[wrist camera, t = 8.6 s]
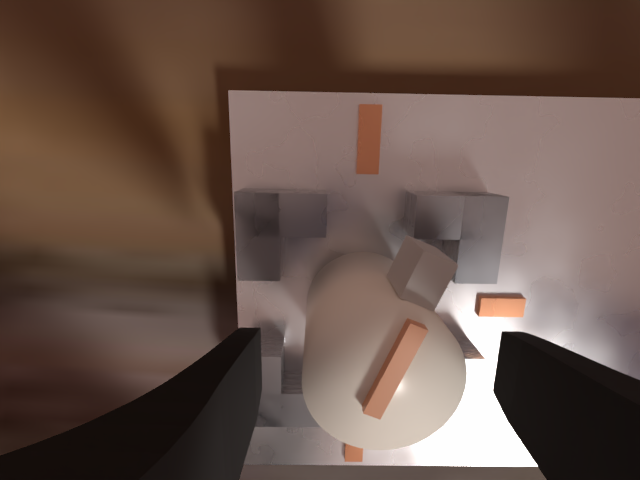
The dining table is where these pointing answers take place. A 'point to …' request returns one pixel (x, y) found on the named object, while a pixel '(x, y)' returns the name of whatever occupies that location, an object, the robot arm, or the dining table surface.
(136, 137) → the dining table surface
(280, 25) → the dining table surface
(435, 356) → the knob
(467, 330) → the hub plate
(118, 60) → the dining table surface
